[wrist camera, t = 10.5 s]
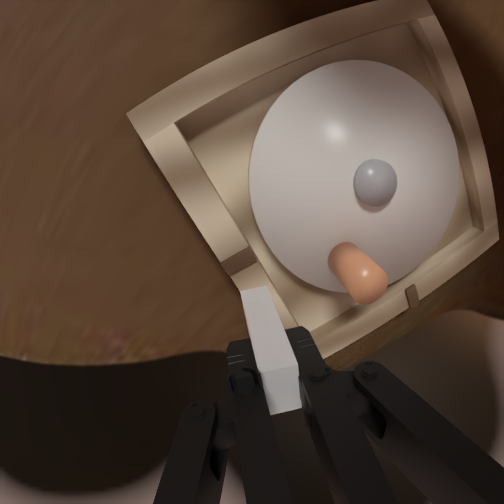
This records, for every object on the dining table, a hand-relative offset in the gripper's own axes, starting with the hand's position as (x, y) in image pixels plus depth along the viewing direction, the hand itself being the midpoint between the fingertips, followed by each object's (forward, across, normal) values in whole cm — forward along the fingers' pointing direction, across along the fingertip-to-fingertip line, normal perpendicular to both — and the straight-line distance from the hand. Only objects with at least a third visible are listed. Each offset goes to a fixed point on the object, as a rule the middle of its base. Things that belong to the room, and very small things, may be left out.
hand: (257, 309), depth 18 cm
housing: (+5, +9, +5) cm, 12 cm away
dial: (+5, +9, +5) cm, 12 cm away
